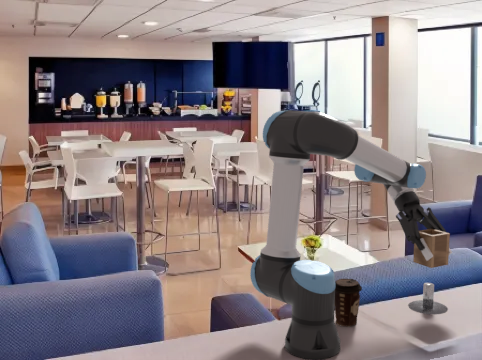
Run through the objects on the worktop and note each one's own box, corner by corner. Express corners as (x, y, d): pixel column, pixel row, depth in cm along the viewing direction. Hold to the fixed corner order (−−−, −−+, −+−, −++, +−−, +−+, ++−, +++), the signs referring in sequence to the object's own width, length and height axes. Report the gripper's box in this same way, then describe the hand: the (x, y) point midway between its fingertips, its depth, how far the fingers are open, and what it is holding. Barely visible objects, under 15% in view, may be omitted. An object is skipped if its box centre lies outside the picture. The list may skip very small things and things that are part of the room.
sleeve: (413, 261, 189) (414, 231, 188) (430, 258, 193) (431, 228, 191) (431, 268, 183) (432, 236, 181) (448, 264, 187) (449, 233, 185)
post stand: (402, 313, 189) (403, 286, 187) (415, 302, 198) (416, 276, 197) (440, 321, 182) (441, 293, 180) (452, 309, 191) (453, 282, 190)
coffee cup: (359, 318, 185) (360, 277, 183) (362, 328, 177) (363, 286, 175) (331, 317, 186) (332, 277, 184) (332, 327, 178) (333, 286, 176)
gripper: (420, 200, 204) (455, 258, 192) (374, 206, 194) (408, 267, 182) (432, 187, 198) (469, 246, 187) (386, 192, 188) (422, 254, 177)
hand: (439, 256), depth 185 cm, fingers closed on sleeve, 7 cm apart
